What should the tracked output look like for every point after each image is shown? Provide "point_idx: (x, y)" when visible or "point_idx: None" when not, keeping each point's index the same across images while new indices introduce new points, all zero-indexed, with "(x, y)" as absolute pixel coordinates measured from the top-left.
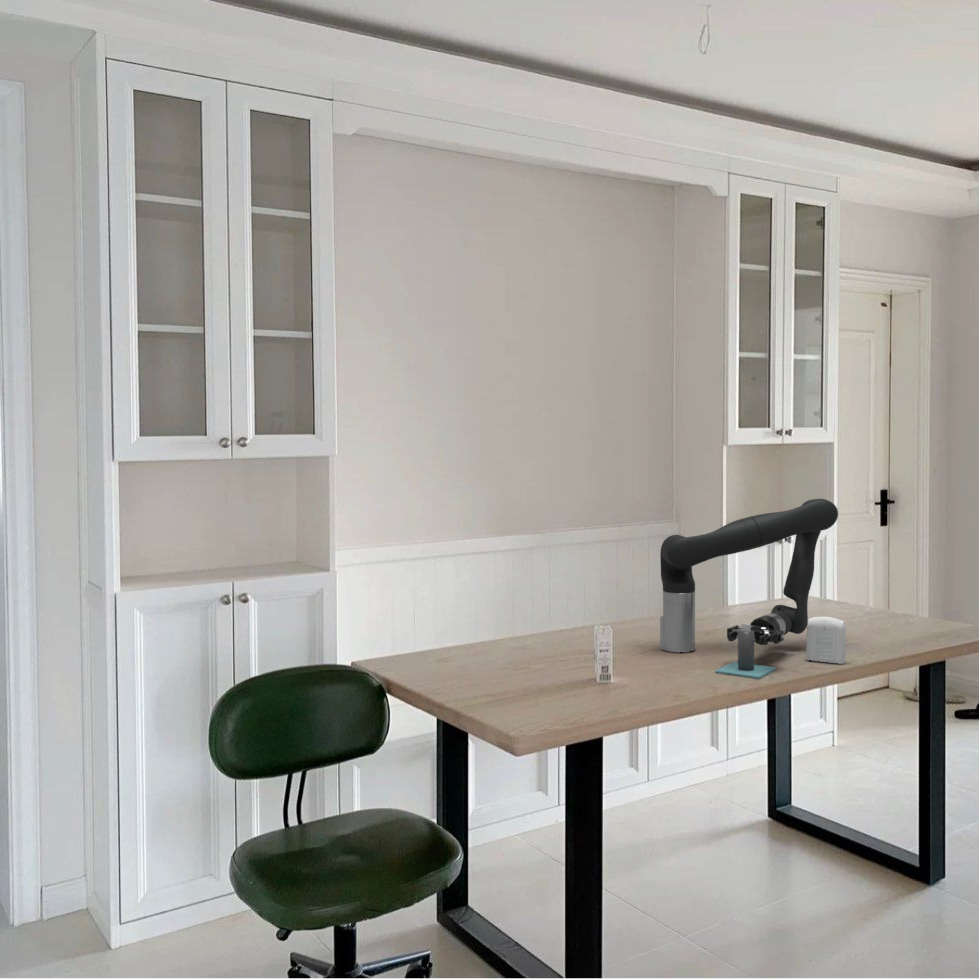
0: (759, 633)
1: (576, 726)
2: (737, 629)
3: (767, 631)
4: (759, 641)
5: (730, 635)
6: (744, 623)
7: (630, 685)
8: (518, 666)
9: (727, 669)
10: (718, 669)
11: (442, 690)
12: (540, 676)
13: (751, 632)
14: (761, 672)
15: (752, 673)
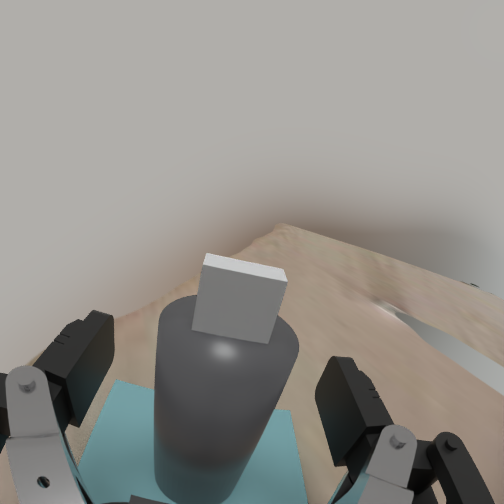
0: (131, 500)
1: (274, 230)
2: (402, 470)
3: (22, 436)
4: (112, 337)
5: (331, 362)
6: (269, 277)
7: (345, 299)
8: (483, 321)
9: (263, 441)
10: (291, 427)
11: (419, 270)
12: (437, 304)
13: (176, 308)
14: (113, 435)
15: (147, 415)
